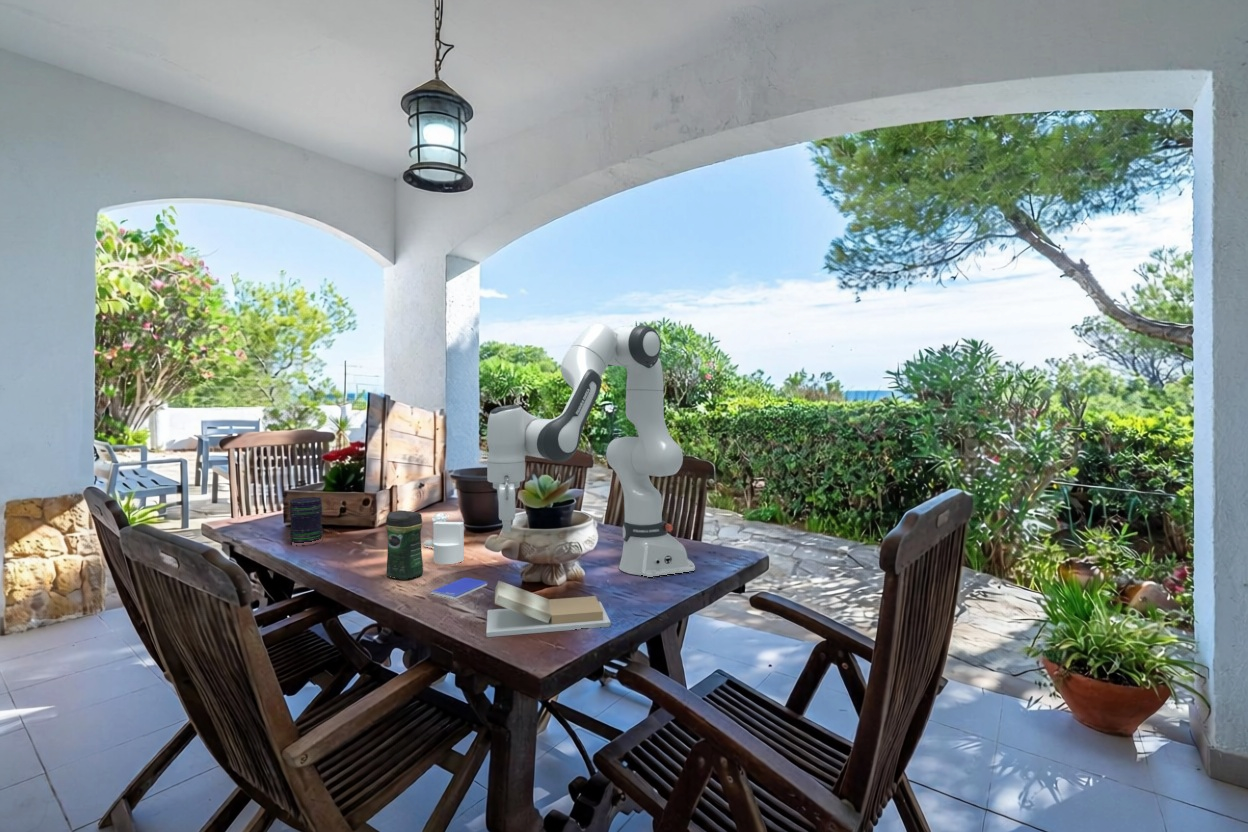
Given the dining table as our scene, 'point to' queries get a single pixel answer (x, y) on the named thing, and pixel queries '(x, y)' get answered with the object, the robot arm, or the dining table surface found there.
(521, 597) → the birch plank
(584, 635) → the dining table surface
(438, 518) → the sitting furry creature
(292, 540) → the storage jar
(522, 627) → the floor base
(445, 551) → the base with upright slab
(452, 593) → the hard drive
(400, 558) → the coffee jar
